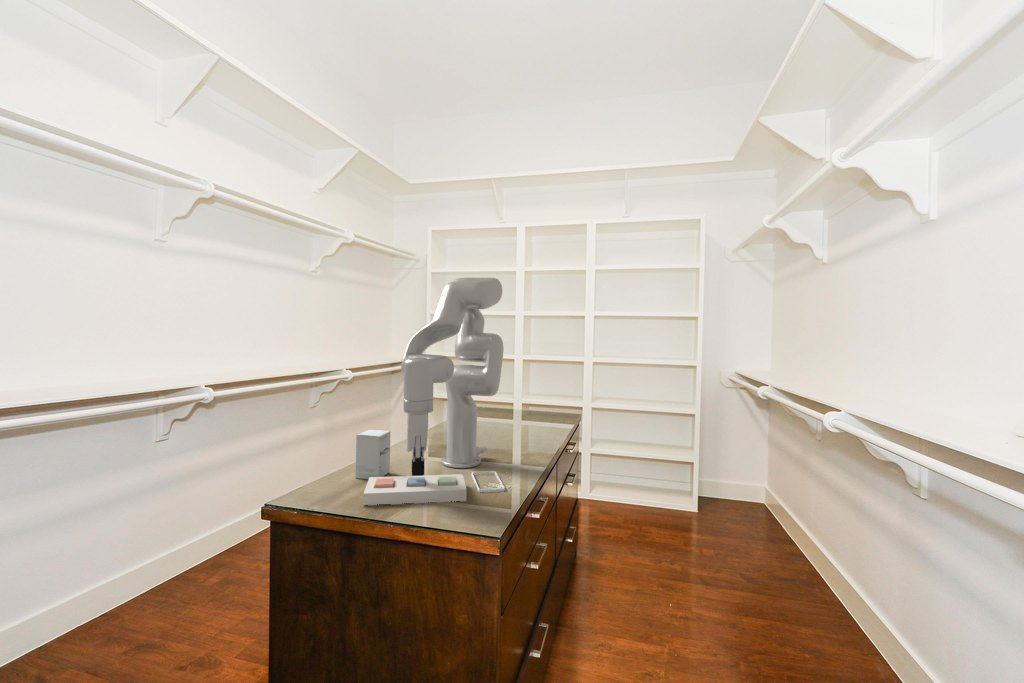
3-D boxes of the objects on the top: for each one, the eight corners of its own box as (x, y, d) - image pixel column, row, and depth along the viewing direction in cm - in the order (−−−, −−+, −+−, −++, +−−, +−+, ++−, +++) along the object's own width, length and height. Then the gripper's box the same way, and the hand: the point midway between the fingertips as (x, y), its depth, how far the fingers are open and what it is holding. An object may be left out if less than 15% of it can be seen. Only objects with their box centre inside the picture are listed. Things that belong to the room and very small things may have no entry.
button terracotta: (394, 490, 123) (394, 478, 122) (392, 496, 118) (393, 484, 118) (376, 490, 122) (376, 478, 122) (374, 497, 117) (375, 484, 117)
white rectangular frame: (505, 493, 126) (495, 475, 140) (505, 488, 126) (495, 470, 140) (478, 494, 124) (471, 476, 139) (478, 489, 124) (471, 471, 139)
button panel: (462, 484, 130) (462, 474, 130) (466, 501, 118) (466, 489, 118) (369, 488, 125) (369, 477, 125) (363, 505, 113) (363, 493, 113)
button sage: (455, 487, 126) (455, 476, 125) (456, 493, 121) (456, 481, 121) (438, 488, 125) (438, 476, 125) (439, 494, 120) (439, 482, 120)
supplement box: (378, 480, 131) (379, 436, 131) (354, 478, 133) (355, 434, 132) (390, 472, 139) (391, 430, 138) (367, 470, 140) (368, 428, 140)
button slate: (424, 489, 124) (425, 477, 124) (424, 495, 120) (425, 482, 120) (407, 489, 123) (408, 477, 123) (407, 495, 119) (407, 483, 119)
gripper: (404, 400, 127) (404, 465, 129) (402, 412, 113) (402, 486, 114) (432, 399, 129) (432, 464, 130) (433, 411, 114) (433, 484, 115)
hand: (418, 474), depth 122 cm, fingers closed
